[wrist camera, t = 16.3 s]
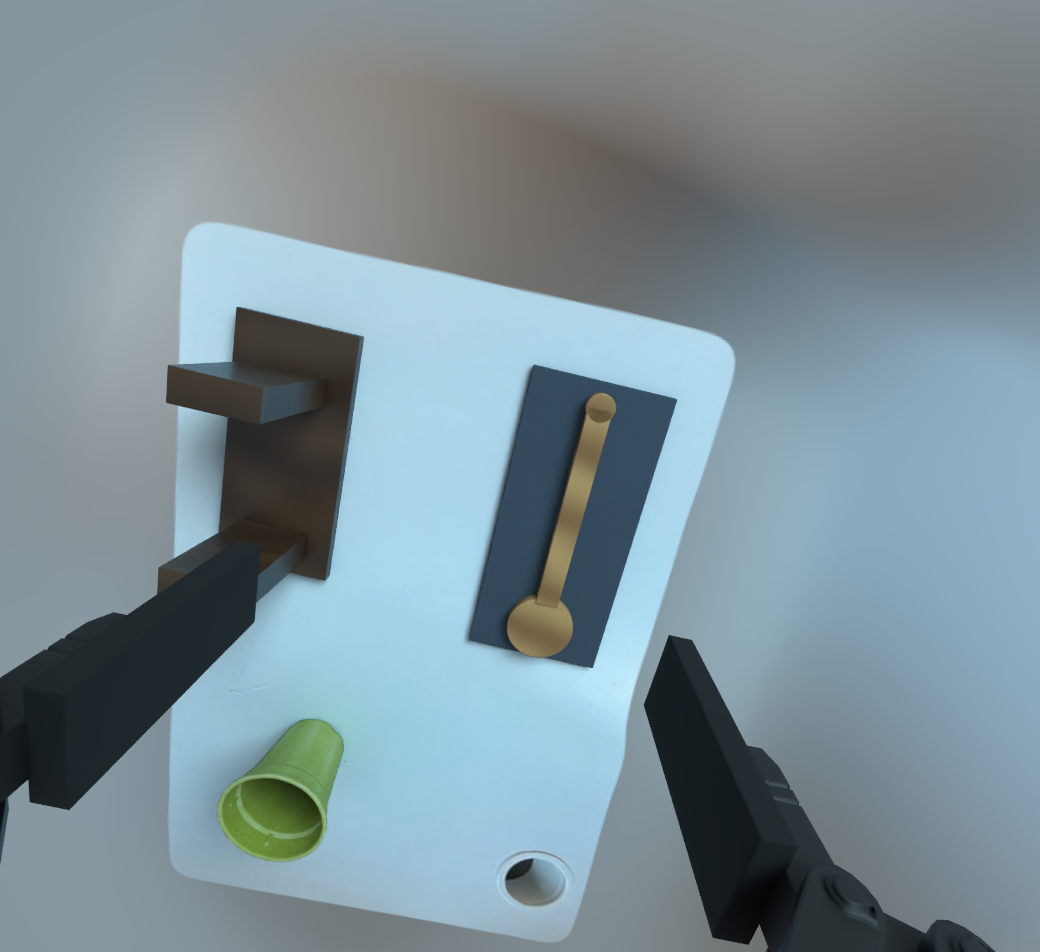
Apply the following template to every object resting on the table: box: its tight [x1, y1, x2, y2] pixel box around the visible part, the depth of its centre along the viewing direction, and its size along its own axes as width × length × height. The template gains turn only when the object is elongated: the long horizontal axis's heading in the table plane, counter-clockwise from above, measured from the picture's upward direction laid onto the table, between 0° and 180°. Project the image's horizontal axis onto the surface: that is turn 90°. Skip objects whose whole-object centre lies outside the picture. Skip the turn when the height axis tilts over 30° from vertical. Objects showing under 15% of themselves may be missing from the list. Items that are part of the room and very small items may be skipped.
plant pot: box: [217, 719, 344, 862], centre depth 47 cm, size 9×9×9 cm
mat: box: [469, 365, 677, 668], centre depth 44 cm, size 26×12×1 cm, turn 167°
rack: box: [157, 307, 364, 603], centre depth 38 cm, size 22×10×11 cm, turn 167°
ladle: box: [507, 392, 616, 657], centre depth 43 cm, size 25×6×1 cm, turn 167°
